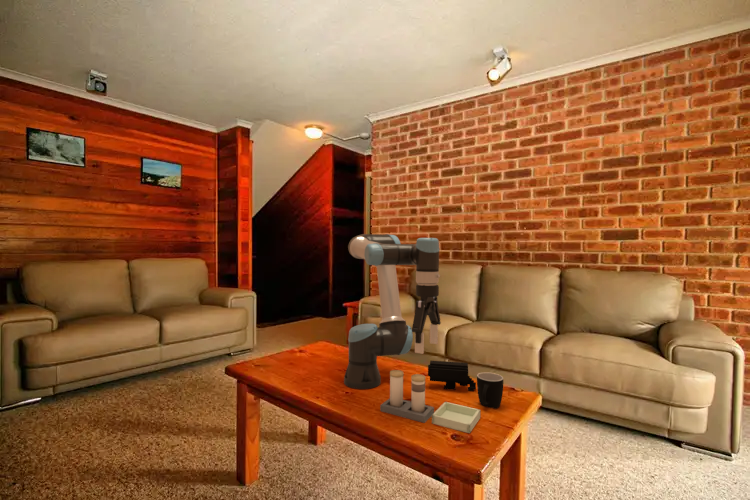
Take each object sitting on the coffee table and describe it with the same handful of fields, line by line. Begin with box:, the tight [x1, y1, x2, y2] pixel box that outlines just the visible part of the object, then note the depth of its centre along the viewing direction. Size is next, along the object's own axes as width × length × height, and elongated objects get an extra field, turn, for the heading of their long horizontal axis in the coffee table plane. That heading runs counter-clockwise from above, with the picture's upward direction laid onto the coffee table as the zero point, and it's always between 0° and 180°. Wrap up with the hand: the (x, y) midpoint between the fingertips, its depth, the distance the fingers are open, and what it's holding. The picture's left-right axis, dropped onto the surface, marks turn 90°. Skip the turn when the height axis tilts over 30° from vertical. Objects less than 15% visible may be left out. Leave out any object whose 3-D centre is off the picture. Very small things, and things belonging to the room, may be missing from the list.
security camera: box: [427, 360, 477, 393], centre depth 143 cm, size 7×18×10 cm, turn 78°
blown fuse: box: [410, 373, 426, 414], centre depth 119 cm, size 5×5×13 cm
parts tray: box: [431, 401, 481, 434], centre depth 116 cm, size 12×12×3 cm
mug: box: [476, 371, 504, 410], centre depth 127 cm, size 12×9×10 cm
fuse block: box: [379, 369, 435, 424], centre depth 121 cm, size 16×8×13 cm, turn 59°
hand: (426, 348), depth 121 cm, fingers open, 13 cm apart
